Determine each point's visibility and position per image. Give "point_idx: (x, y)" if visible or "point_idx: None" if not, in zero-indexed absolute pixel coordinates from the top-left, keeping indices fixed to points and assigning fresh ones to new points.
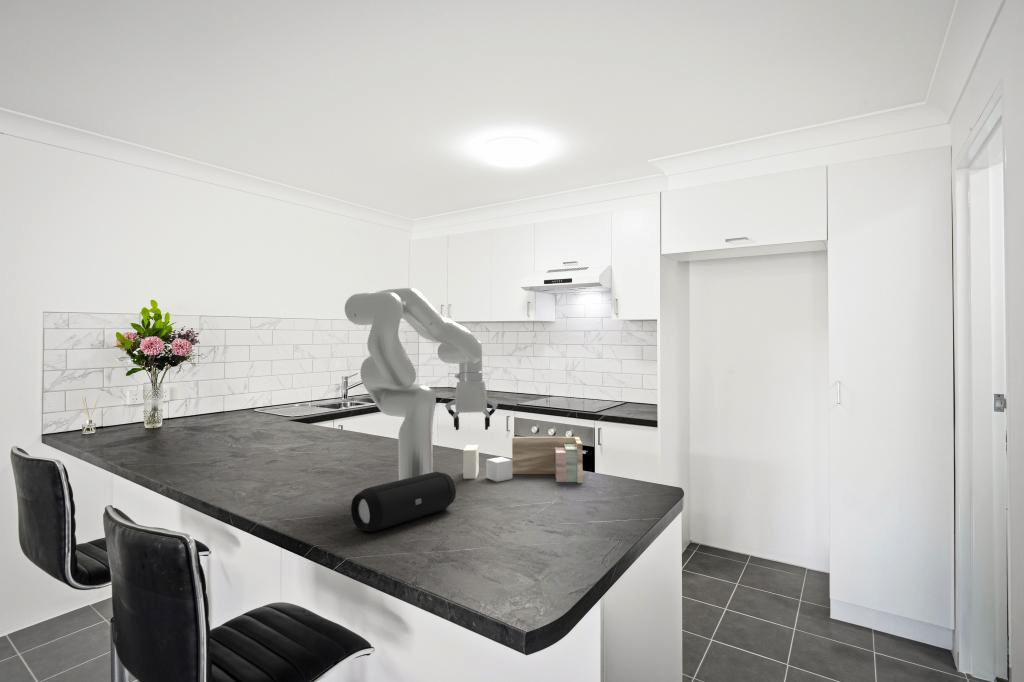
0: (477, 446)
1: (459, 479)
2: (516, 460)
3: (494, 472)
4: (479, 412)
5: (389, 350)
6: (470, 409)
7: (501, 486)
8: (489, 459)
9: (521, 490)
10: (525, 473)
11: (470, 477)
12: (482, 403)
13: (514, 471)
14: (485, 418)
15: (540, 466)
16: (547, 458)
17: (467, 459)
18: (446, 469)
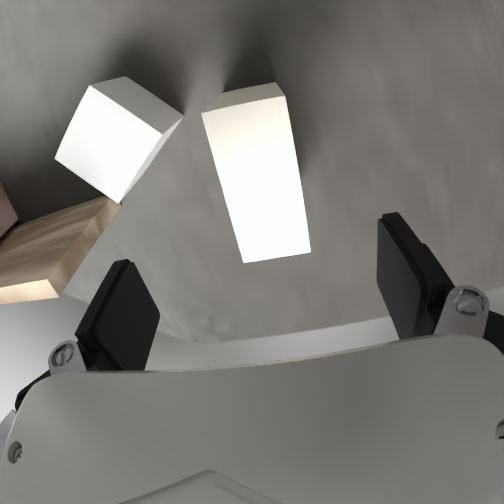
0: (234, 226)
1: (287, 64)
2: (81, 220)
3: (125, 88)
4: (100, 371)
5: None
6: (216, 408)
7: (91, 26)
8: (146, 137)
9: (28, 21)
10: (79, 204)
11: (245, 88)
12: (15, 475)
13: (105, 198)
14: (87, 328)
15: (34, 227)
16: (8, 246)
17: (257, 94)
18: (381, 206)
